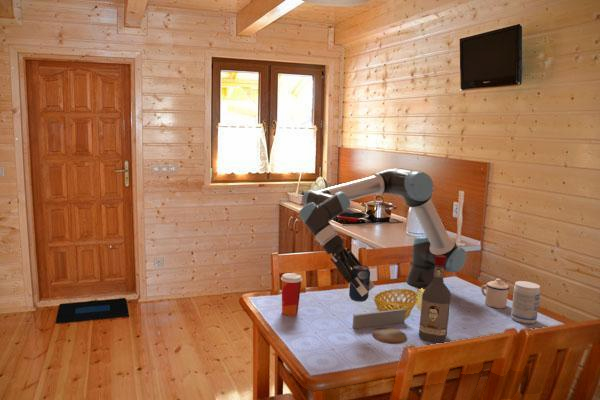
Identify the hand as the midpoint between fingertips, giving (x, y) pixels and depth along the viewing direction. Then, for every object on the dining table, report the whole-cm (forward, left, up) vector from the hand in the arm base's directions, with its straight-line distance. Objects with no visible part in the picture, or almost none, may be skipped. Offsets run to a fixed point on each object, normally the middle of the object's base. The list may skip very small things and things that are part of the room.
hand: (368, 291), depth 188 cm
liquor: (+12, +21, -15) cm, 28 cm away
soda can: (-3, -2, -4) cm, 5 cm away
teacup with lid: (-9, +69, -15) cm, 71 cm away
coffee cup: (-23, -20, -15) cm, 34 cm away
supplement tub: (+9, +68, -15) cm, 70 cm away
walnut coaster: (+7, +6, -15) cm, 17 cm away
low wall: (-3, +8, -15) cm, 17 cm away
